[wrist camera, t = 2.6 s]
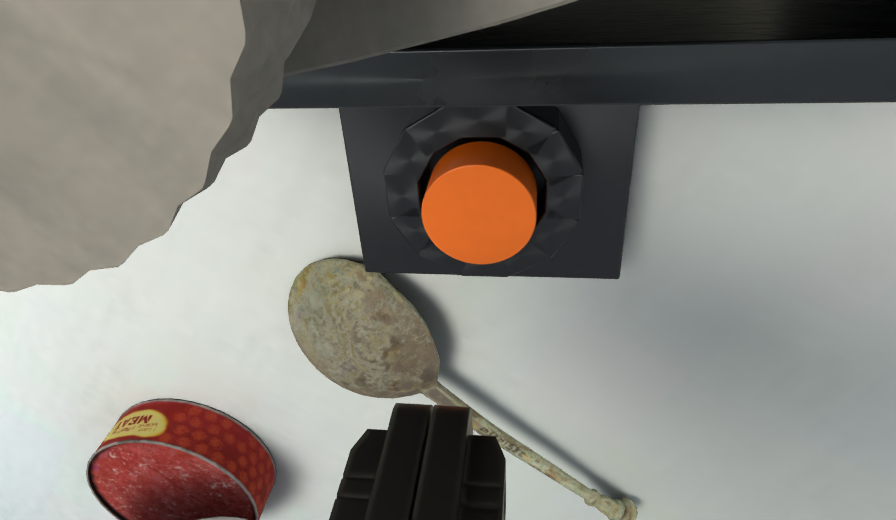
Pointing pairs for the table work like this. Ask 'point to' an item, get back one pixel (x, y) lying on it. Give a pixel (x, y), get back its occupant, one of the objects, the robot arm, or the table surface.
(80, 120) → the hip flask
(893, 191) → the table surface
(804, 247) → the table surface
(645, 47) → the black storage bin
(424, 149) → the control panel
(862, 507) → the table surface
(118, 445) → the canned food
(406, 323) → the soupspoon
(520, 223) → the button
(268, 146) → the table surface
